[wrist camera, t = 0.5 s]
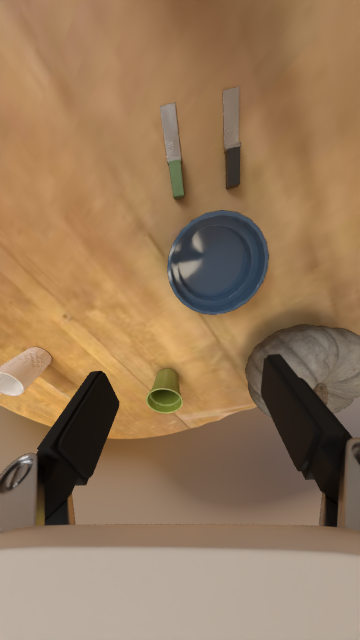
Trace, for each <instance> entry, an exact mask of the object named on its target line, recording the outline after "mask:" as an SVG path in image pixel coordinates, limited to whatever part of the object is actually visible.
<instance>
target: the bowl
mask: <svg viewBox="0 0 360 640" xmlns="http://www.w3.org/2000/svg"><path fill="white" fill-rule="evenodd" d="M268 259H269V253H268V248H267V242H266V240H265V238H264V236H263V234H262V232H261V230H260V228H259V227H258V226H257V225H256V224H255V223H254V222H253V221H252V220H251V219H250V218H248V217H246V216H244V215H242V214H240V213H238V212H232V211H225V210H220V211H214V212H209V213H205V214H204V215H202V216H200V217H198V218H196V219H194V220H192V221H191V222H190V223H189V224H188V225H187V226H186V227H184V228H183V229H182V230H181V231H180V233H179V235H178V236H177V238H176V239H175V241H174V242H173V244H172V247H171V250H170V253H169V256H168V267H167V272H168V278H169V283H170V285H171V287H172V290H173V292H174V294H175V295H176V296H177V298H178V299H179V300H180V301H181V302H182V303H183V304H184V305H186V306H187V307H188V308H190V309H192V310H194V311H197V312H199V313H202V314H211V315H215V314H223V313H227V312H230V311H233V310H235V309H237V308H239V307H240V306H242V305H243V304H245V303H246V302H248V301H249V300H250V299H251V298H252V297H253V296H254V295H255V294H256V292H257V291H258V289H259V288H260V286H261V284H262V283H263V281H264V278H265V275H266V272H267V269H268Z"/></svg>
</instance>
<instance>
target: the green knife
mask: <svg viewBox="0 0 360 640" xmlns="http://www.w3.org/2000/svg"><path fill="white" fill-rule="evenodd" d="M160 110H161V118H162V125H163V132H164V139H165V146H166V153H167V162H168V166H169V168H170V176H171V183H172V190H173V197H174V199H177V198H182V197H184V189H183V180H182V172H181V163H182V162H181V153H180V144H179V135H178V126H177V117H176V108H175V103H171V104H167V105H163V106H160Z"/></svg>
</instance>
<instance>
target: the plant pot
mask: <svg viewBox="0 0 360 640" xmlns="http://www.w3.org/2000/svg"><path fill="white" fill-rule="evenodd" d="M146 403H147V405H148V406H149V407H150V408H151V409H152V410H154V411H156V412H159V413H172V412H175V411H177V410H179V409H180V408H181V406H182V404H183V399H182V397H181V394H180V391H179V382H178V375H177V373H176V372H175V371H174V370H172V369H162V370H160V371H159V372H158V375H157V377H156V380H155V382H154V385H153V387H152V389H151V391H150V392H149V393H148V394H147V397H146Z"/></svg>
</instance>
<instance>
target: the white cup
mask: <svg viewBox="0 0 360 640" xmlns="http://www.w3.org/2000/svg"><path fill="white" fill-rule="evenodd" d="M51 360H52V358H51V356H50V354H49V353H48V352H47V351H45V350H44V349H42V348H38V347H31V348H29V349H27V350H26V351H24V352H23V353H21V354H19V355H17V356H16V357H14V358H12V359H11V360H9V361H8V362H6V363H5V364H3V365H2V366H0V392H1V393H3V394H6V395H11V396H18V395H21V394H22V393H23V392H24V391H25V390H26V389H27V388H28V387H29V386H30V385H31V384H32V383H33V382H34V381H35V380H36V379H37V378H38V376H39V375H40V374H41V373H42V372H43V371H44V369H45V368H46V367H47V366H48V365H49V364H50V363H51Z"/></svg>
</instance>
